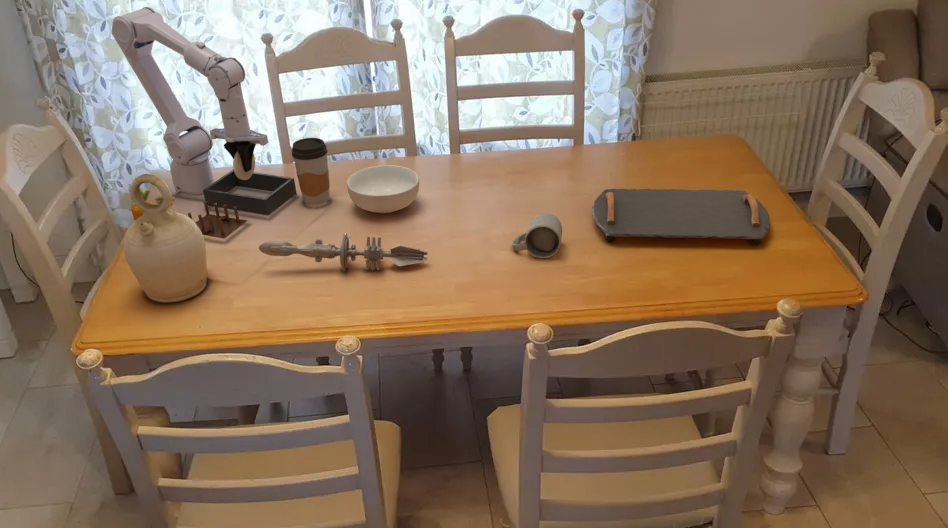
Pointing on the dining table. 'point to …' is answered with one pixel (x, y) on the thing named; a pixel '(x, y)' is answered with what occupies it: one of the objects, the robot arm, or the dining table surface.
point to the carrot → (137, 211)
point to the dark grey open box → (277, 184)
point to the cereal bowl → (383, 188)
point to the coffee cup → (312, 169)
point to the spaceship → (348, 252)
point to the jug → (165, 247)
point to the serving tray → (680, 214)
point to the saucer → (239, 167)
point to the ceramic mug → (541, 236)
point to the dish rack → (218, 222)
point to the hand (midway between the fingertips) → (245, 170)
